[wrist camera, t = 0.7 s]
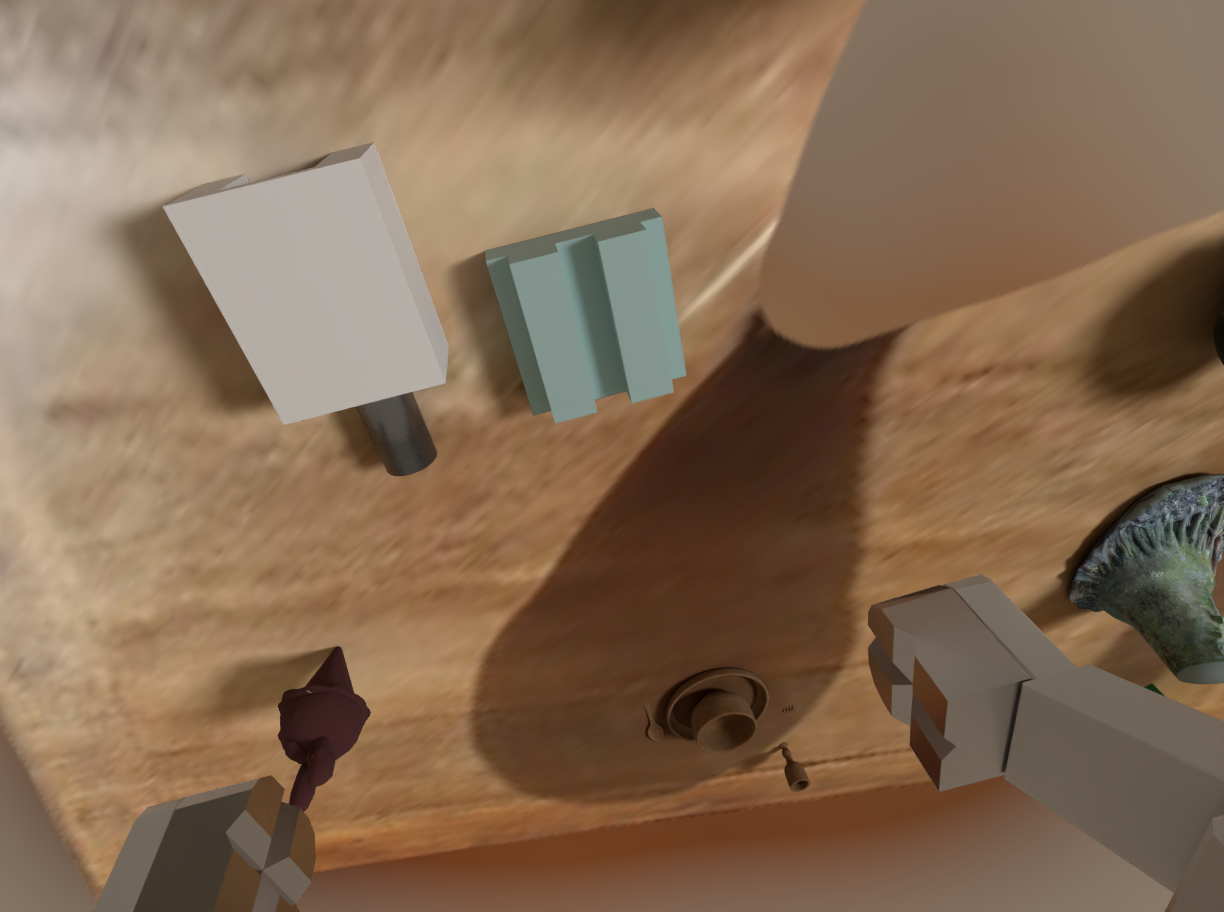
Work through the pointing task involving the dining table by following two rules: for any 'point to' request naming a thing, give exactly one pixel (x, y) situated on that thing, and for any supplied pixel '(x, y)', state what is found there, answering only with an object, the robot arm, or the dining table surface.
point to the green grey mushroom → (1164, 575)
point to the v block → (591, 313)
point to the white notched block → (317, 283)
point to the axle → (399, 434)
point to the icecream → (320, 725)
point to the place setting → (725, 721)
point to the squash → (1219, 336)
